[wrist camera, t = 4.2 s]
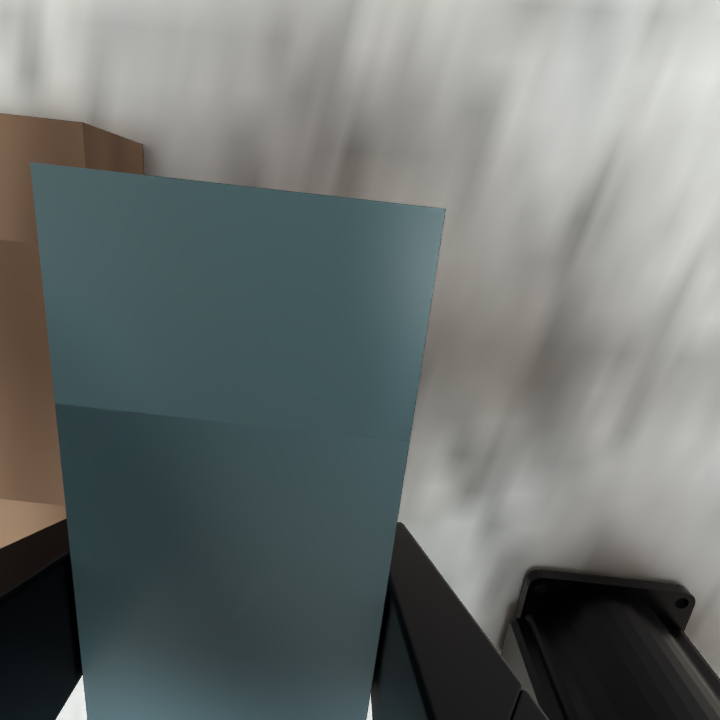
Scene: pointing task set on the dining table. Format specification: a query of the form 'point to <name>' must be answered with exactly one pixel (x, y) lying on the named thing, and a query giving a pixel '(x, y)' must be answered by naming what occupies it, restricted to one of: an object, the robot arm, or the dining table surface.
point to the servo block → (230, 434)
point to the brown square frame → (35, 315)
